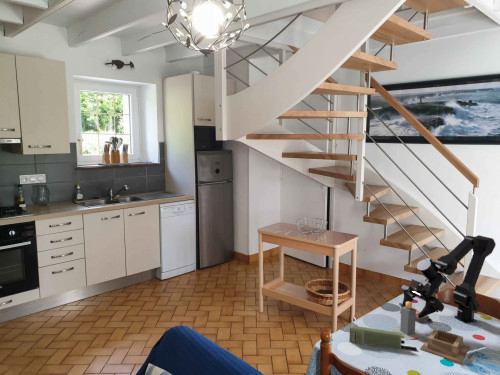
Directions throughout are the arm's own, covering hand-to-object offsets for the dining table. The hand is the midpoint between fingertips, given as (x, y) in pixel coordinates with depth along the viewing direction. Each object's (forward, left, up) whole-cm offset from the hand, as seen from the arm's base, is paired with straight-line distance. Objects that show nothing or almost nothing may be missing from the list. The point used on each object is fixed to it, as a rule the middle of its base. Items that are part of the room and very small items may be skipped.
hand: (410, 313), depth 160 cm
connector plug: (+1, 0, -8) cm, 8 cm away
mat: (+1, 0, -9) cm, 9 cm away
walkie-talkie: (-13, -15, -9) cm, 22 cm away
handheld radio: (+17, +6, -9) cm, 20 cm away
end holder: (-4, +15, -9) cm, 18 cm away
